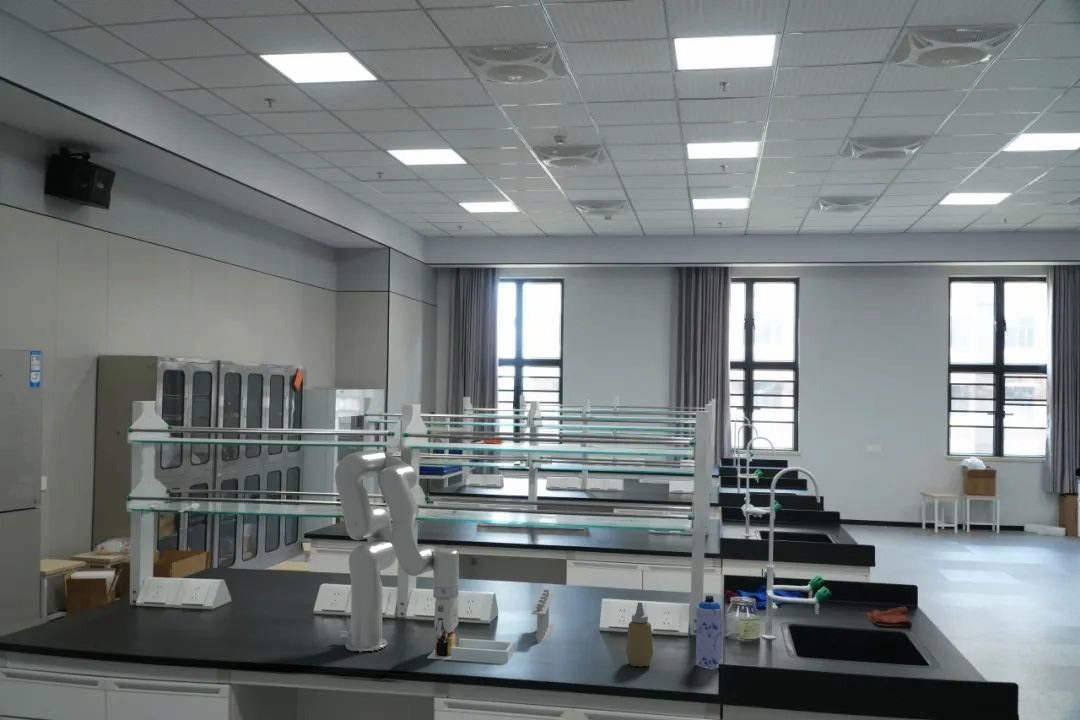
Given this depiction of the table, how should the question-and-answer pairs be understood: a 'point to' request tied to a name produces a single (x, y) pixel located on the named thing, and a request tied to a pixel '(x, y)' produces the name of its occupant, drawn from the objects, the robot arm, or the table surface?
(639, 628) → the squeeze bottle
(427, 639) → the table surface
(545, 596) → the test tube rack
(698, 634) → the aerosol can
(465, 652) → the channel
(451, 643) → the block
